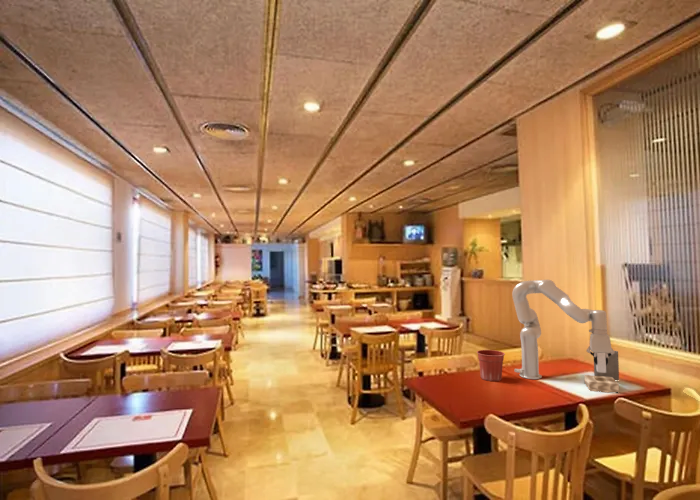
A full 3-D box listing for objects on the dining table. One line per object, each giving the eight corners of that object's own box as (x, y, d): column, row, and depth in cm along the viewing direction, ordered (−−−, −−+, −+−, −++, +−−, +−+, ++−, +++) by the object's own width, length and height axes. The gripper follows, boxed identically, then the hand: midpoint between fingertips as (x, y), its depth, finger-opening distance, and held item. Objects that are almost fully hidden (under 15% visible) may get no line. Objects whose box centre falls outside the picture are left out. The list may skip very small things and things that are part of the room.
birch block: (589, 390, 221) (589, 381, 221) (584, 383, 234) (584, 374, 234) (619, 393, 216) (618, 384, 216) (612, 385, 229) (612, 377, 229)
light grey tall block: (597, 372, 224) (597, 352, 224) (596, 370, 228) (595, 351, 228) (606, 372, 223) (605, 353, 223) (604, 370, 226) (603, 351, 227)
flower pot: (501, 375, 254) (500, 349, 254) (508, 382, 237) (508, 355, 238) (474, 374, 255) (474, 349, 256) (480, 382, 239) (480, 355, 239)
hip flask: (597, 382, 235) (596, 348, 236) (592, 380, 239) (591, 347, 240) (620, 380, 238) (619, 347, 239) (614, 379, 242) (613, 346, 243)
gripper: (584, 332, 226) (585, 364, 225) (618, 333, 220) (620, 367, 219) (581, 330, 233) (582, 361, 232) (614, 331, 227) (616, 363, 226)
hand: (600, 363), depth 225 cm, fingers closed on light grey tall block, 4 cm apart
